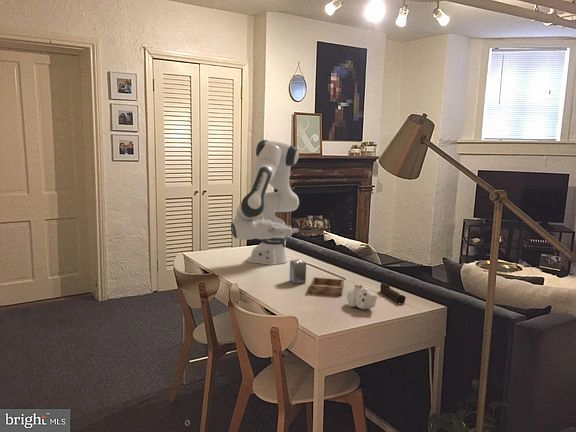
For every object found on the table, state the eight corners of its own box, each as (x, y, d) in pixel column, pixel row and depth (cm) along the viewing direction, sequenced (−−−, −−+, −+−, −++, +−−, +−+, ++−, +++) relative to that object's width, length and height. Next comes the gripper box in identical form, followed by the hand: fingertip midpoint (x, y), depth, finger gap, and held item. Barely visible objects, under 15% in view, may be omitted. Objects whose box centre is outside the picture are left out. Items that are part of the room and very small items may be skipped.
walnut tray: (309, 293, 212) (310, 285, 211) (313, 284, 226) (313, 277, 225) (341, 295, 210) (341, 288, 209) (343, 286, 223) (343, 279, 223)
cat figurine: (346, 281, 199) (374, 285, 187) (358, 288, 204) (386, 293, 192) (338, 302, 196) (366, 308, 185) (350, 309, 201) (378, 315, 189)
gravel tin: (293, 284, 225) (294, 260, 224) (289, 280, 231) (290, 258, 229) (305, 283, 227) (306, 260, 225) (301, 280, 233) (302, 257, 231)
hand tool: (405, 304, 202) (406, 293, 201) (396, 304, 201) (397, 294, 200) (386, 291, 220) (386, 281, 219) (378, 291, 219) (378, 281, 218)
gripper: (273, 225, 210) (302, 225, 215) (260, 219, 230) (287, 219, 234) (273, 239, 211) (302, 239, 216) (260, 232, 230) (287, 232, 235)
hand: (294, 228), depth 225 cm, fingers open, 8 cm apart
